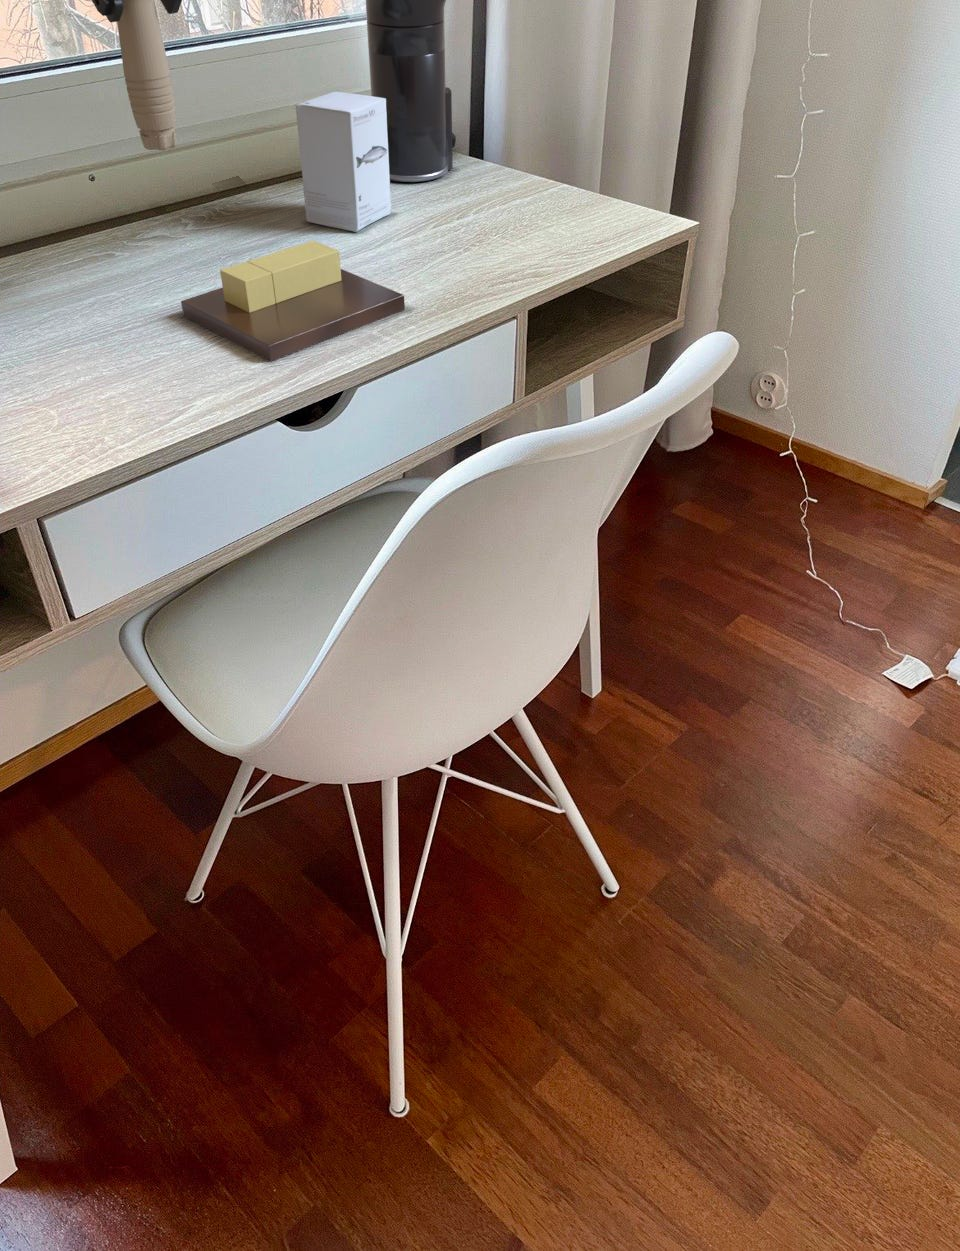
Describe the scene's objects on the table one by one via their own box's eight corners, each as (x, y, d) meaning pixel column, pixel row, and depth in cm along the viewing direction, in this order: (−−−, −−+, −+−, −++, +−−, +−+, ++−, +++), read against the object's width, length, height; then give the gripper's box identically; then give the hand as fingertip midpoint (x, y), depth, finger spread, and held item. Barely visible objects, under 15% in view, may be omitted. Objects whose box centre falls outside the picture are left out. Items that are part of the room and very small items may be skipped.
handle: (160, 159, 92) (125, -40, 83) (116, 145, 95) (77, -48, 86) (203, 147, 95) (174, -46, 86) (159, 134, 98) (126, -54, 89)
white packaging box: (358, 233, 117) (349, 112, 109) (304, 222, 120) (292, 103, 112) (393, 214, 122) (387, 96, 114) (341, 204, 125) (332, 88, 117)
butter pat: (250, 292, 100) (246, 261, 99) (275, 303, 98) (271, 272, 96) (224, 301, 99) (219, 269, 97) (249, 313, 97) (244, 281, 95)
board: (315, 271, 109) (313, 257, 108) (405, 309, 101) (404, 294, 100) (183, 316, 100) (180, 300, 99) (271, 361, 92) (268, 345, 91)
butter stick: (316, 270, 105) (313, 240, 103) (341, 280, 103) (339, 250, 101) (251, 292, 101) (246, 261, 99) (276, 303, 98) (272, 272, 96)
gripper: (-40, -216, 79) (77, -12, 80) (128, -217, 87) (233, -32, 88) (-48, -134, 85) (61, 54, 86) (109, -142, 93) (207, 30, 94)
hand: (147, 10), depth 87 cm, fingers closed on handle, 5 cm apart
